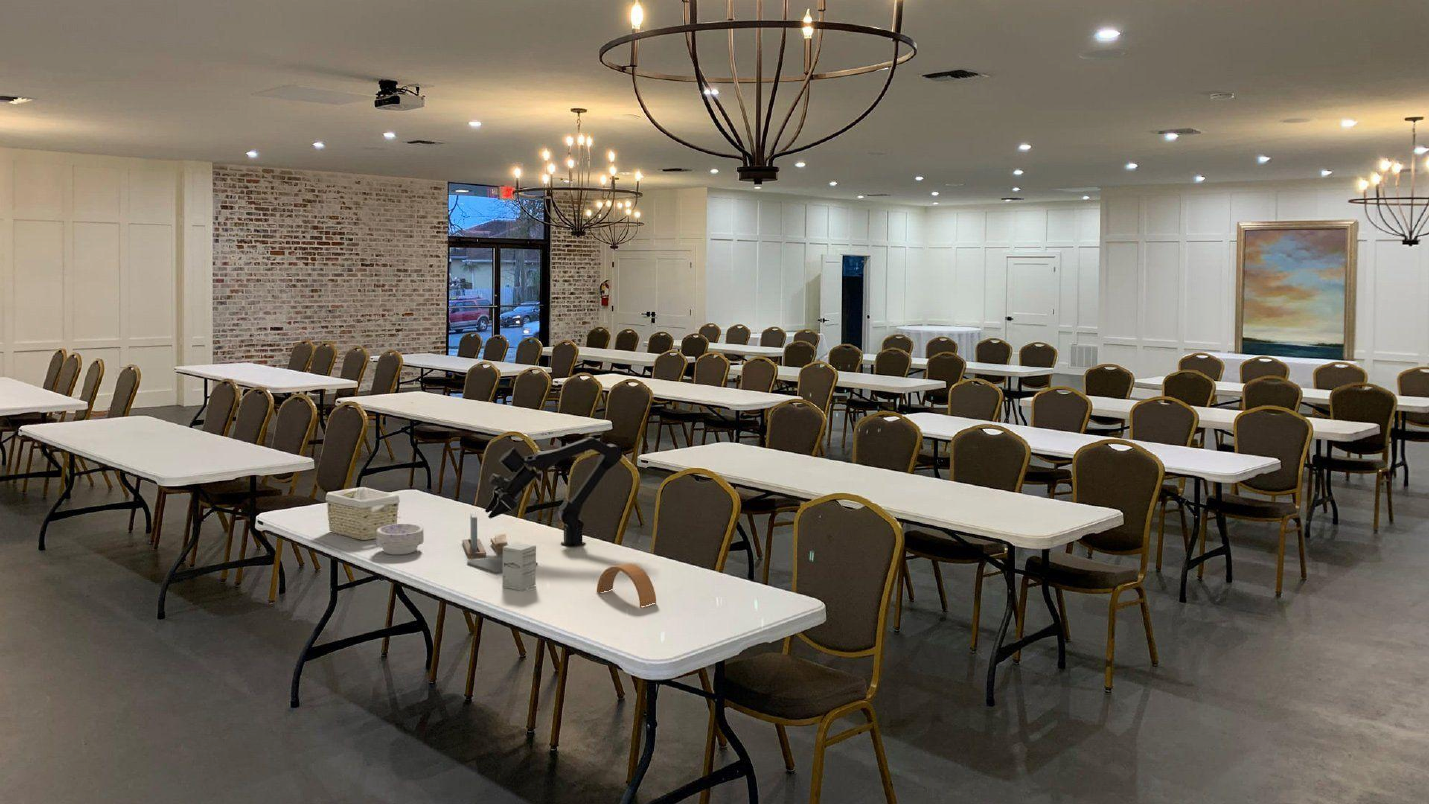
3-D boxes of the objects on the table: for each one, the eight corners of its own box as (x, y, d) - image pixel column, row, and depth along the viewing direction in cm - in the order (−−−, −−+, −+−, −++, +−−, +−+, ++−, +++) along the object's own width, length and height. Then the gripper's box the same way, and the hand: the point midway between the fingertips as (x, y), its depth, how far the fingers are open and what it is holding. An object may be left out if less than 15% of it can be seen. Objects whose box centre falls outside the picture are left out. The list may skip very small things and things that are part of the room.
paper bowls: (395, 559, 353) (395, 535, 352) (367, 552, 362) (366, 528, 361) (433, 551, 365) (433, 528, 364) (405, 543, 374) (404, 521, 373)
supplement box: (501, 588, 323) (501, 546, 322) (517, 582, 330) (517, 541, 328) (521, 591, 320) (521, 549, 318) (536, 585, 326) (536, 544, 325)
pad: (537, 565, 349) (537, 562, 349) (496, 574, 338) (496, 571, 338) (508, 556, 360) (508, 553, 360) (467, 564, 349) (467, 562, 349)
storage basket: (324, 532, 389) (323, 491, 388) (364, 524, 402) (363, 485, 400) (361, 543, 374) (360, 501, 373) (402, 535, 387) (401, 494, 385)
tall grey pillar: (475, 548, 370) (475, 513, 369) (477, 552, 364) (477, 517, 363) (470, 548, 369) (470, 513, 368) (472, 552, 364) (472, 517, 362)
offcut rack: (504, 541, 380) (504, 532, 380) (512, 555, 361) (512, 545, 361) (462, 543, 375) (462, 534, 375) (468, 558, 356) (468, 548, 356)
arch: (611, 590, 324) (612, 557, 323) (656, 605, 310) (656, 570, 308) (596, 593, 320) (596, 560, 318) (641, 609, 306) (641, 574, 304)
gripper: (499, 461, 376) (467, 493, 373) (507, 470, 358) (473, 504, 356) (522, 482, 379) (490, 515, 377) (530, 492, 361) (497, 526, 359)
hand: (487, 514), depth 367 cm, fingers open, 9 cm apart
